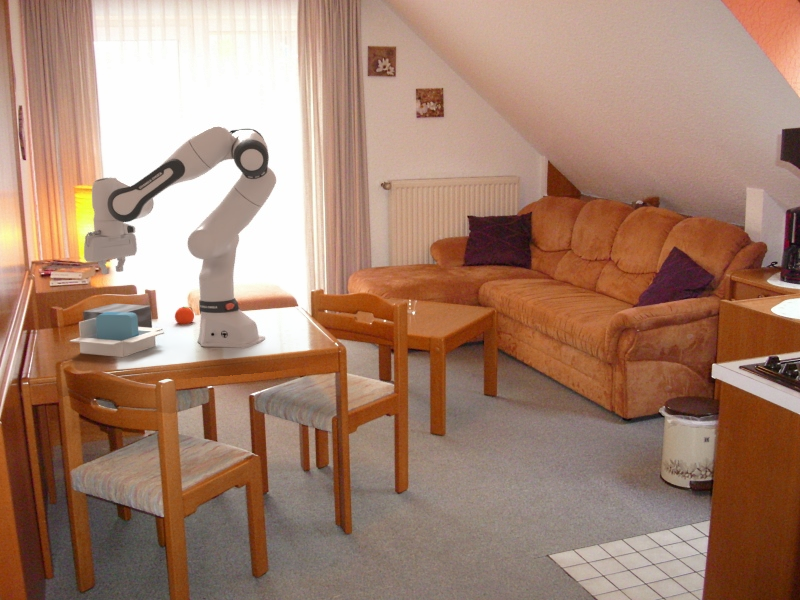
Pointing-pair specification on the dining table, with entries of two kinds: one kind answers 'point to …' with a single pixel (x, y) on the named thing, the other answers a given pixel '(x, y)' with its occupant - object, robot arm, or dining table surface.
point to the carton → (114, 341)
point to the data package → (117, 325)
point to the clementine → (184, 315)
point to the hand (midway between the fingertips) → (112, 272)
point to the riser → (140, 310)
